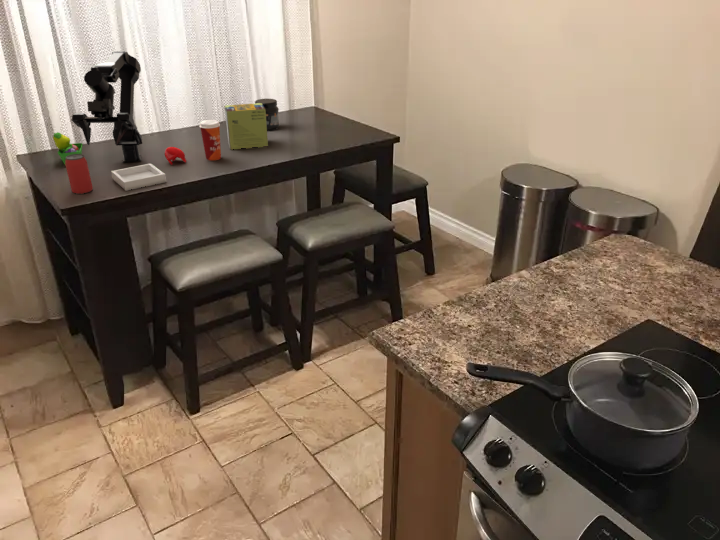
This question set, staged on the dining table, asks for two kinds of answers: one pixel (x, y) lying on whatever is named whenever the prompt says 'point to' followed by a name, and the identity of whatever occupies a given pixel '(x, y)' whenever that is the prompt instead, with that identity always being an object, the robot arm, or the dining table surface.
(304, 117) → the dining table surface
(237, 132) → the protein box
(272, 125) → the supplement container
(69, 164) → the beer can
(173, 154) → the cap
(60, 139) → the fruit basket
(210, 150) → the paper cup
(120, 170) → the tray
